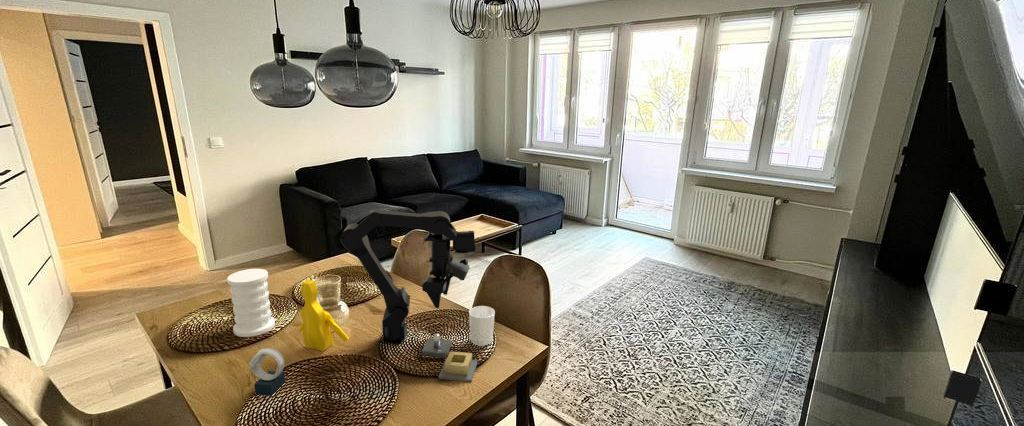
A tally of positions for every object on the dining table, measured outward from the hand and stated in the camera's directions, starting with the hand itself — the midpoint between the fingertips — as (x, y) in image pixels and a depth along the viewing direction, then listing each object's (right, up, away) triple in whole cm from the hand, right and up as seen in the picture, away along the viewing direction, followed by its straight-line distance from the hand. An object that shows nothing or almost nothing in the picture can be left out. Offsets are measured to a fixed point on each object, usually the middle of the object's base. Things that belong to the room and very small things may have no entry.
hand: (441, 301), depth 135 cm
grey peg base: (0, -14, -6) cm, 15 cm away
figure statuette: (-36, -13, -5) cm, 38 cm away
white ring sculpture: (-40, -18, -24) cm, 50 cm away
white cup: (+12, -13, +1) cm, 18 cm away
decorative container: (-61, -10, +4) cm, 61 cm away
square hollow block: (+7, -16, -14) cm, 22 cm away
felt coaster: (+7, -16, -14) cm, 23 cm away
